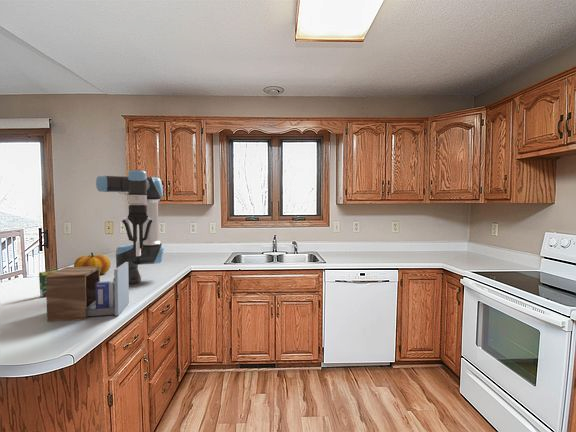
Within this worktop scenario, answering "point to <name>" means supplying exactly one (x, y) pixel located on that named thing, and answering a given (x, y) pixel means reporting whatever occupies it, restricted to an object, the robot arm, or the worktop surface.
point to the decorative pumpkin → (94, 262)
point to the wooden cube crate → (71, 292)
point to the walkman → (105, 295)
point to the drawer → (120, 294)
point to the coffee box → (44, 281)
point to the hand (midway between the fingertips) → (138, 255)
